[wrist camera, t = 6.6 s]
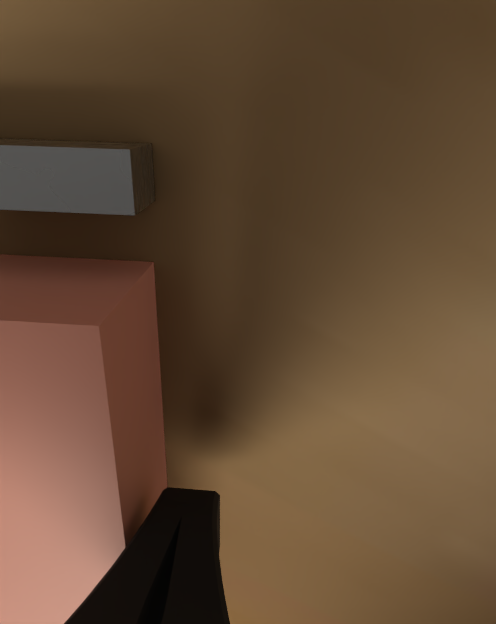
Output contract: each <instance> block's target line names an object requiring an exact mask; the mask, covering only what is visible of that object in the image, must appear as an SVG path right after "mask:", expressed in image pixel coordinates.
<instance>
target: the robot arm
mask: <svg viewBox="0 0 496 624" xmlns="http://www.w3.org/2000/svg"><path fill="white" fill-rule="evenodd" d="M219 548H220V495H219V494H218V493H217V492H216V491H206V490H193V489H181V488H168V487H167V488H166V489H164V490H163V491H162V493H161V494H160V496H159V498H158V500H157V501H156V503H155V504H154V506H153V508H152V509H151V511H150V513H149V514H148V516H147V517H146V519H145V520H144V522H143V523H142V525H141V526H140V528H139V529H138V531H137V532H136V534H135V535H134V536H133V538H132V539H131V541H130V542H129V543H128V545H127V546H126V547H125V549H124V550H123V552H122V553H121V554H120V556H119V557H118V558H117V560H116V561H115V563H114V564H113V565H112V566H111V568H110V569H109V570H108V572H107V573H106V574H105V575H104V577H103V578H102V579H101V580H100V581H99V583H98V584H97V585H96V586H95V588H94V589H93V590H92V591H91V593H90V594H89V595H88V596H87V598H86V599H85V600H84V601H83V602H82V604H81V605H80V606H79V607H78V608H77V609H76V610H75V612H74V613H73V614H72V615H71V616H70V617H69V618H68V620H67V621H66V622H65V623H64V624H230V621H229V617H228V611H227V606H226V601H225V595H224V589H223V583H222V576H221V568H220V560H219Z"/></svg>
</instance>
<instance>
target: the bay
mask: <svg viewBox="0 0 496 624" xmlns="http://www.w3.org/2000/svg"><path fill="white" fill-rule="evenodd" d="M154 201H155V189H154V172H153V154H152V143H123V142H94V141H64V140H34V139H5V138H0V210H22V211H45V212H68V213H91V214H114V215H136V214H137V213H139V212H140V211H142V210H143V209H144V208H146V207H147V206H149V205H150V204H151V203H153V202H154Z"/></svg>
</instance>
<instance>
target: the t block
mask: <svg viewBox="0 0 496 624" xmlns="http://www.w3.org/2000/svg"><path fill="white" fill-rule="evenodd" d="M167 487H168V486H167V470H166V453H165V437H164V421H163V405H162V388H161V372H160V356H159V339H158V323H157V307H156V291H155V274H154V262H145V261H125V260H105V259H85V258H65V257H45V256H25V255H5V254H0V624H64V623H65V622H66V621H67V620H68V618H69V617H70V616H71V615H72V614H73V613H74V612H75V610H76V609H77V608H78V607H79V606H80V605H81V604H82V602H83V601H84V600H85V599H86V598H87V596H88V595H89V594H90V593H91V591H92V590H93V589H94V588H95V586H96V585H97V584H98V583H99V581H100V580H101V579H102V578H103V577H104V575H105V574H106V573H107V572H108V570H109V569H110V568H111V566H112V565H113V564H114V563H115V561H116V560H117V558H118V557H119V556H120V554H121V553H122V552H123V550H124V549H125V547H126V546H127V545H128V543H129V542H130V541H131V539H132V538H133V536H134V535H135V534H136V532H137V531H138V529H139V528H140V526H141V525H142V523H143V522H144V520H145V519H146V517H147V516H148V514H149V513H150V511H151V509H152V508H153V506H154V504H155V503H156V501H157V500H158V498H159V496H160V494H161V493H162V491H163V490H164V489H166V488H167Z"/></svg>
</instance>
